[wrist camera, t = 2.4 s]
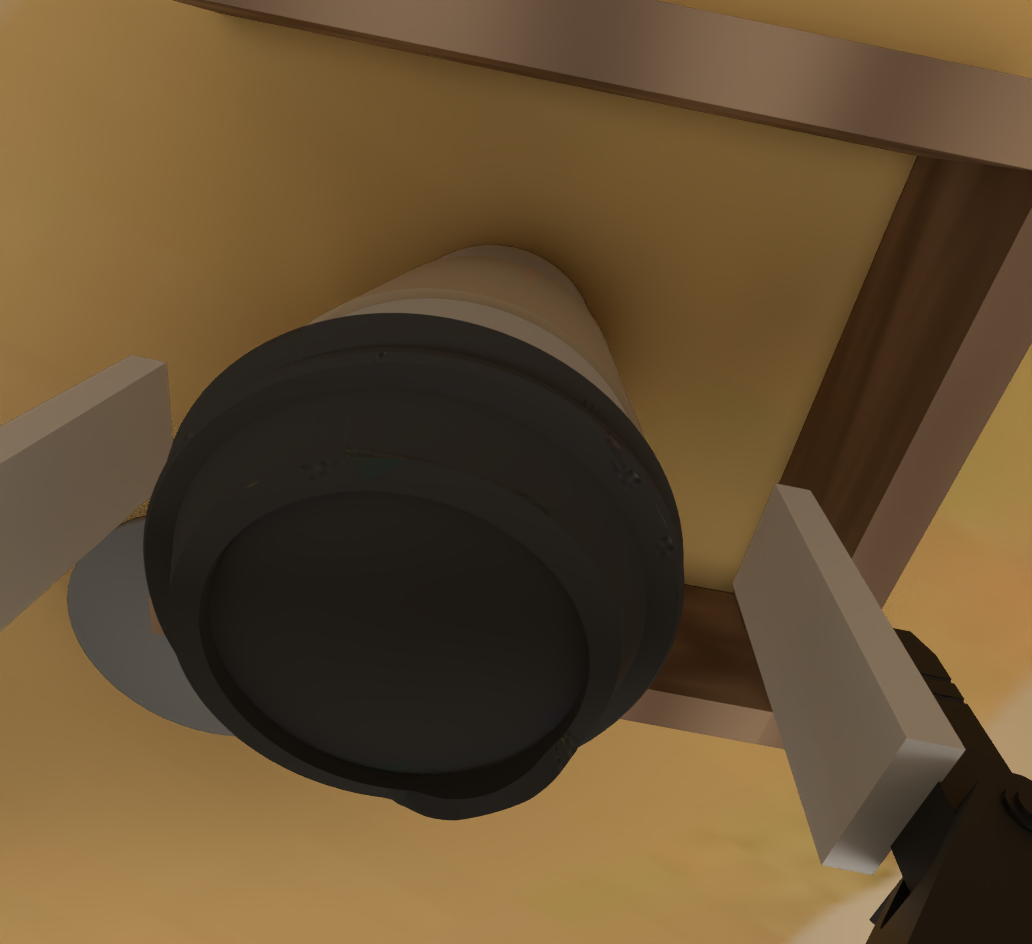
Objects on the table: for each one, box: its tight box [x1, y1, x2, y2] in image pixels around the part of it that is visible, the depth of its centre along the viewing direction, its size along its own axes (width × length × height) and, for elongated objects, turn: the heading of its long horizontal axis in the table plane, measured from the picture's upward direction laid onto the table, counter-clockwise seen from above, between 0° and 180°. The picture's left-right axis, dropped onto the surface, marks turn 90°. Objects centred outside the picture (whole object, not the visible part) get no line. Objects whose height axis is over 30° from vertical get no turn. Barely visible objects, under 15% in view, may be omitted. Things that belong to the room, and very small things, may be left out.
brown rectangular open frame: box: [148, 0, 1032, 749], centre depth 20 cm, size 22×19×6 cm
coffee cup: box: [143, 245, 684, 820], centre depth 16 cm, size 9×9×15 cm
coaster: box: [67, 516, 235, 736], centre depth 29 cm, size 12×12×1 cm
